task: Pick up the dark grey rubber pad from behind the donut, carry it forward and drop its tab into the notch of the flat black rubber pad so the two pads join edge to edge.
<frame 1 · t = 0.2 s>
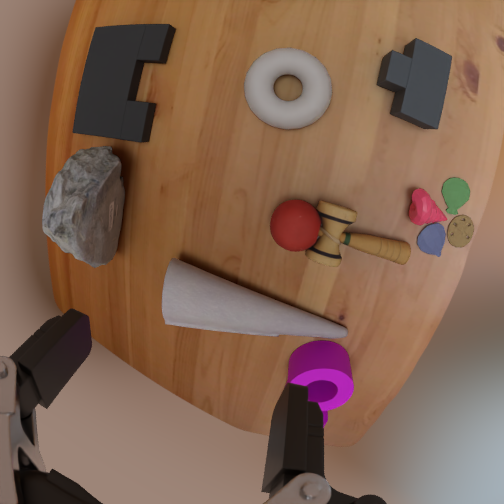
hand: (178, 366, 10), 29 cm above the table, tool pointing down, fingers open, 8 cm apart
toy pieces: (440, 217, 35), on the table
tape dispenser: (314, 375, 47), on the table
kendama: (341, 229, 37), on the table
black pad: (123, 80, 33), on the table
decorative rock: (117, 199, 40), on the table
grey hollow cone: (265, 294, 42), on the table
donut: (288, 89, 32), on the table
grey pad: (415, 86, 29), on the table
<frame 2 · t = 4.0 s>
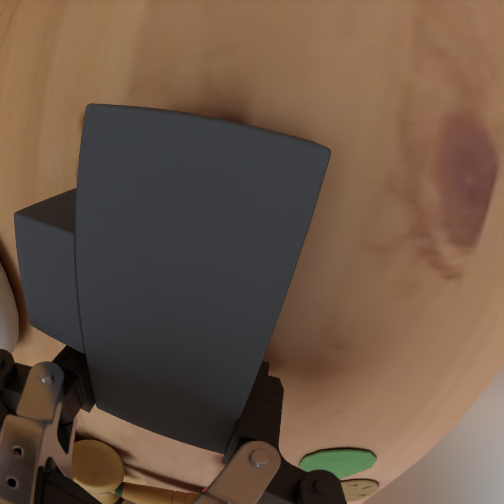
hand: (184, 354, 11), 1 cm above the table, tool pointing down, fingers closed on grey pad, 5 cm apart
toy pieces: (302, 481, 16), on the table
kendama: (130, 463, 19), on the table
grey pad: (204, 266, 11), on the table, touching gripper
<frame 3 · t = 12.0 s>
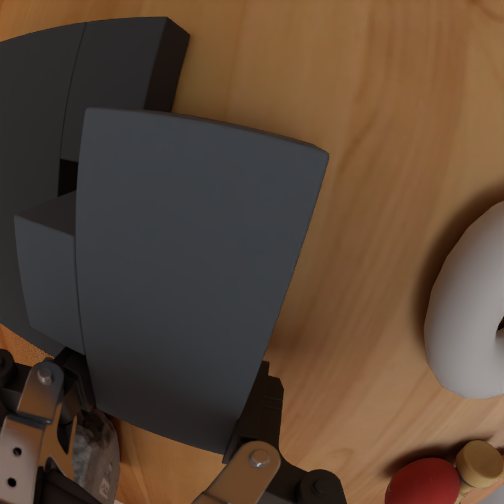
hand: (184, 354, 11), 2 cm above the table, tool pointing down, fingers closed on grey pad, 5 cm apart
kendama: (466, 455, 16), on the table
black pad: (48, 202, 12), on the table
decorative rock: (102, 417, 19), on the table
donut: (498, 287, 11), on the table
grey pad: (204, 268, 11), point 1 cm above the table, touching gripper
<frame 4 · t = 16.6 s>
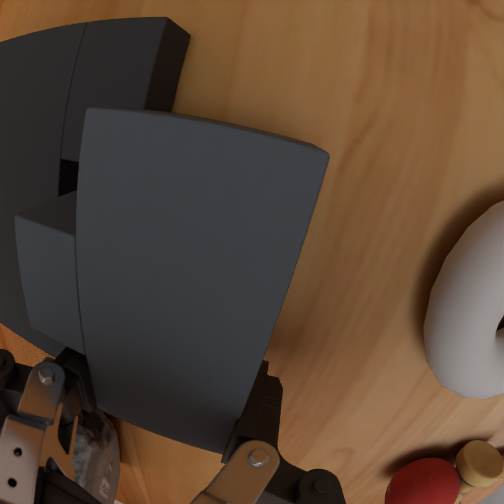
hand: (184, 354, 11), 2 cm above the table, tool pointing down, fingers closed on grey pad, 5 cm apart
kendama: (466, 455, 16), on the table
black pad: (49, 202, 12), on the table
decorative rock: (102, 417, 19), on the table
donut: (498, 286, 11), on the table
grey pad: (204, 268, 11), point 1 cm above the table, touching gripper
when the fingers open (3 cm above the table, at t = 20.4 s): grey pad drops 2 cm, on the table.
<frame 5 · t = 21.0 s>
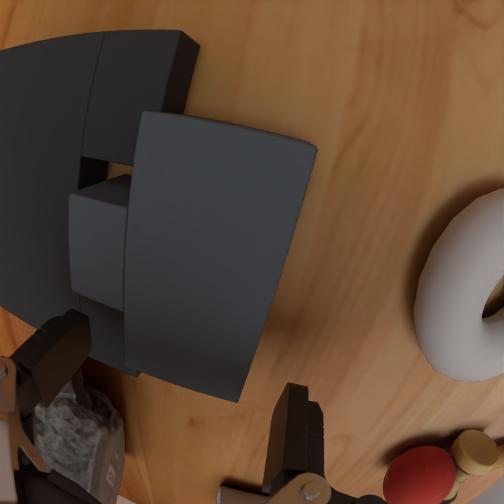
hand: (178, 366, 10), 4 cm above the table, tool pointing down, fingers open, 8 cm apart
kendama: (462, 445, 18), on the table
black pad: (64, 197, 13), on the table
decorative rock: (108, 407, 20), on the table
grey hollow cone: (341, 500, 23), on the table
donut: (485, 276, 12), on the table
grey pad: (221, 242, 13), on the table
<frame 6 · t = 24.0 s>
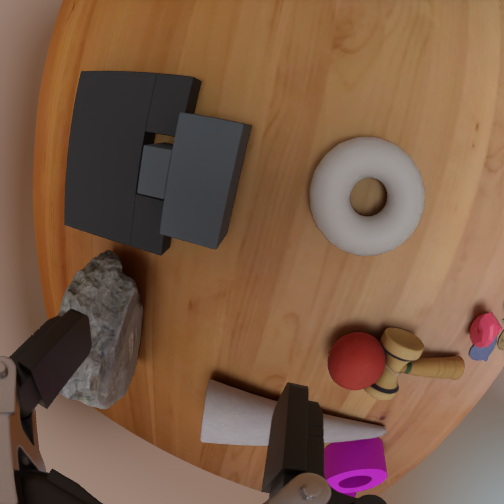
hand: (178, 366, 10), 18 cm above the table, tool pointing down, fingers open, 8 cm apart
toy pieces: (496, 326, 27), on the table
tape dispenser: (346, 458, 40), on the table
kendama: (399, 349, 30), on the table
black pad: (126, 155, 26), on the table
decorative rock: (132, 306, 33), on the table
grey hollow cone: (307, 405, 35), on the table
donut: (364, 193, 25), on the table
grey pad: (211, 174, 26), on the table
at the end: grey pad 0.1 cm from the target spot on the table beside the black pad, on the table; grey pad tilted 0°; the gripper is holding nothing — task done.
